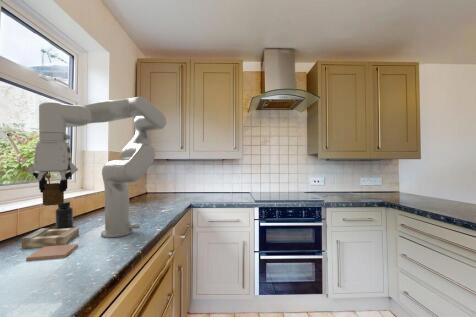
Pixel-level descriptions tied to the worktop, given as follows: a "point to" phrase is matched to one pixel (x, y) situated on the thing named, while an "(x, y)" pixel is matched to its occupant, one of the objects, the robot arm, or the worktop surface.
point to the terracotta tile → (52, 252)
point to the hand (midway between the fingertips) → (53, 191)
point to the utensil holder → (52, 193)
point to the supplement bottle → (64, 216)
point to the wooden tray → (49, 237)
